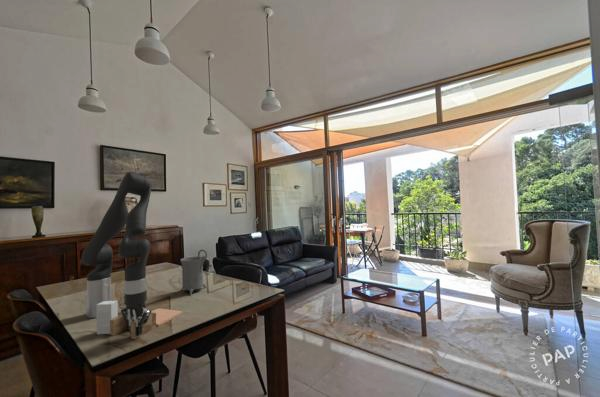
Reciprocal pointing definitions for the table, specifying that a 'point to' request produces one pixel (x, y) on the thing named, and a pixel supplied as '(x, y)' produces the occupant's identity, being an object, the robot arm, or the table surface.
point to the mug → (193, 272)
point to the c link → (120, 325)
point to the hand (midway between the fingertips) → (136, 334)
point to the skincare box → (105, 315)
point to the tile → (165, 315)
